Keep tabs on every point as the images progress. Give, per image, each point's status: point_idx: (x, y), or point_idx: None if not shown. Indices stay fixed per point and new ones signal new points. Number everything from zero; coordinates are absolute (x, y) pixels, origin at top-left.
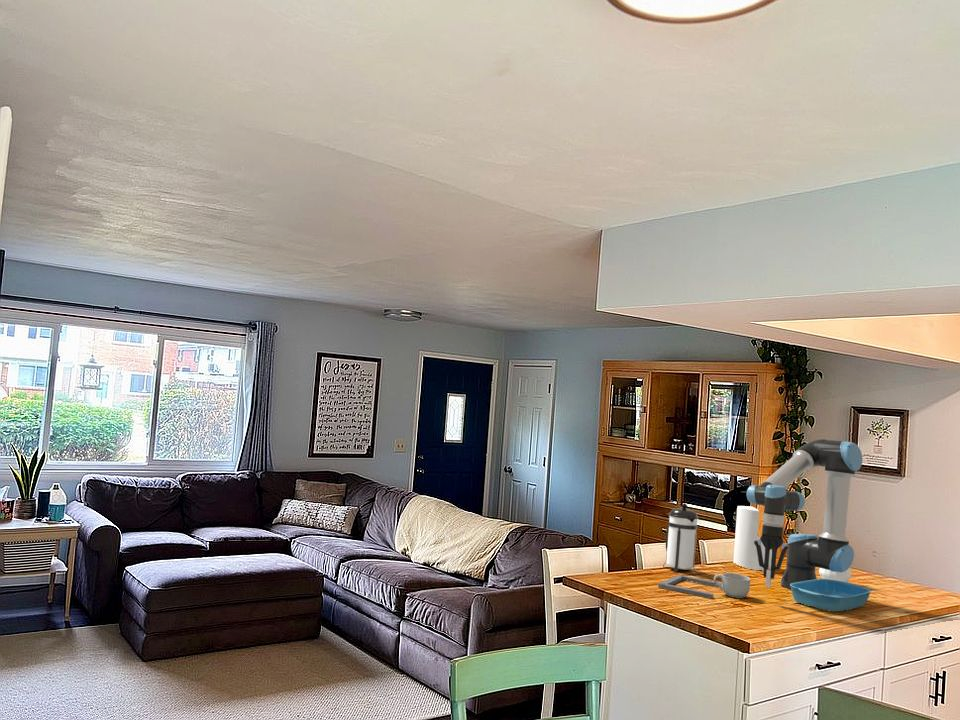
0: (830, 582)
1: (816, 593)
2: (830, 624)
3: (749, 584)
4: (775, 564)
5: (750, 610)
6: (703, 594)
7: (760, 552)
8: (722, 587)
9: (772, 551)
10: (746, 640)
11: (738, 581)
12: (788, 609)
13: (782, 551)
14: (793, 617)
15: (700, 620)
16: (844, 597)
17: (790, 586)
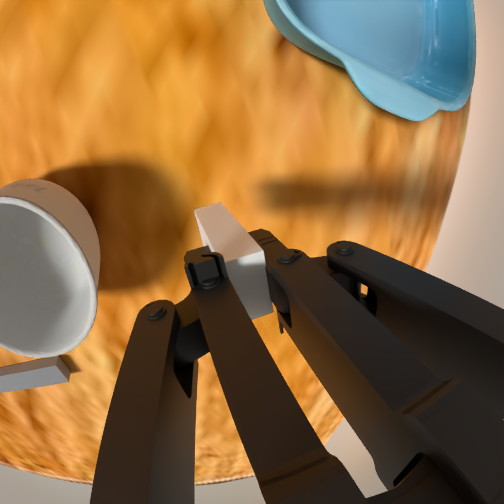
0: None
1: (422, 108)
2: (417, 259)
3: (90, 249)
4: (328, 284)
5: None
6: (47, 382)
7: (192, 495)
8: (12, 301)
9: (386, 473)
10: None
11: (79, 339)
12: (303, 211)
13: (493, 404)
14: None
15: (216, 474)
16: (473, 80)
17: (278, 8)
